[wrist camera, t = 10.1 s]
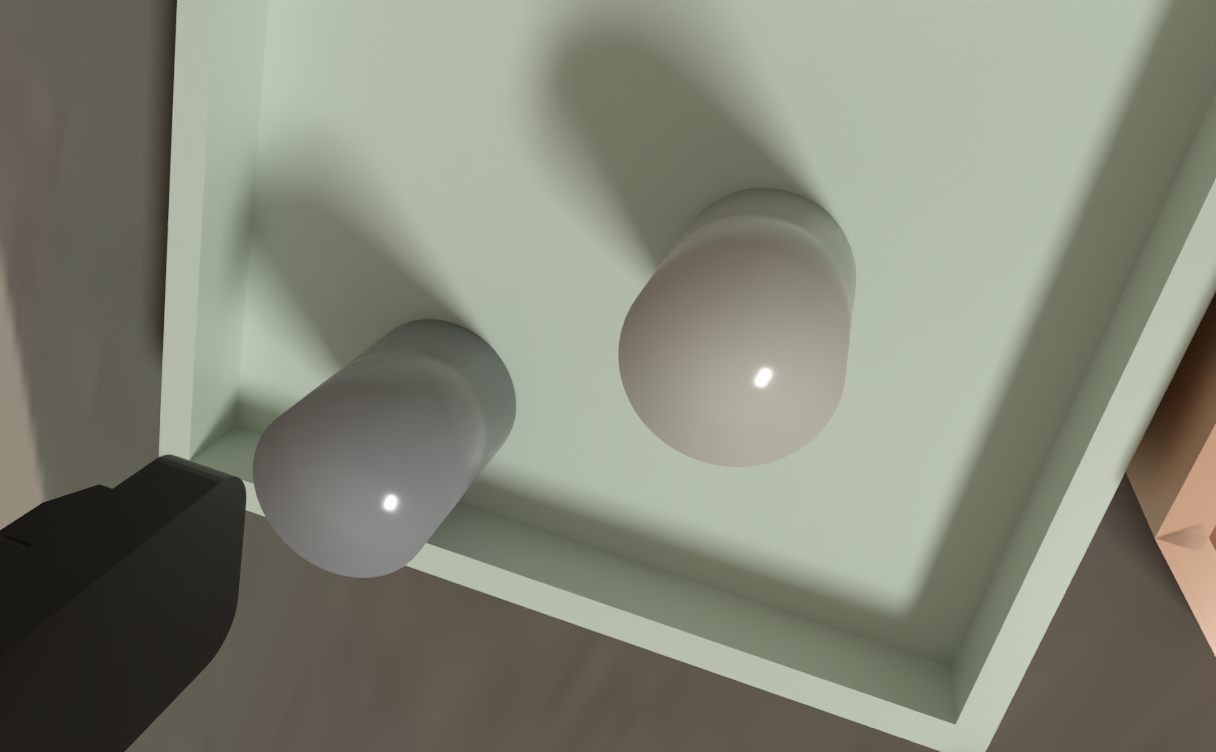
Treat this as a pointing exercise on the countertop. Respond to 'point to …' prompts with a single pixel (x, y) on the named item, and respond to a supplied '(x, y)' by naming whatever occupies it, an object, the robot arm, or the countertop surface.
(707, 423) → the pebble
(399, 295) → the tray
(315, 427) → the grey rounded knob
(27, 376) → the countertop surface
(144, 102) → the countertop surface
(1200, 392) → the bowl
